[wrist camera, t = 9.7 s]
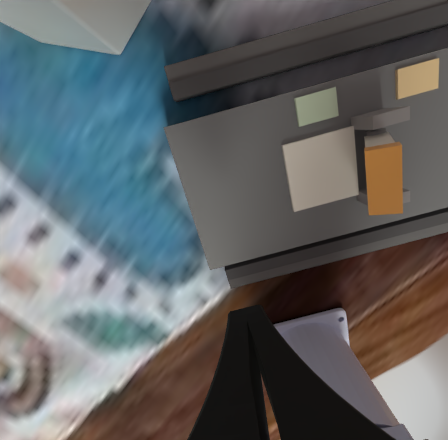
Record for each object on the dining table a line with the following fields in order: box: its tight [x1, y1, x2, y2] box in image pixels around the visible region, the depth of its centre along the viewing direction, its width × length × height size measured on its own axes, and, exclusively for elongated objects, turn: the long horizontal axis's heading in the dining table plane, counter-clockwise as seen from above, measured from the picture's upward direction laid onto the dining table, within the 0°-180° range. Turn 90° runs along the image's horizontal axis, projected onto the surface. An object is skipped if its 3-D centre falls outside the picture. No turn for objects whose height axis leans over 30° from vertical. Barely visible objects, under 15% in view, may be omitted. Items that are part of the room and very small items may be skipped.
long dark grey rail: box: [164, 0, 448, 102], centre depth 15 cm, size 2×22×2 cm, turn 104°
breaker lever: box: [364, 128, 403, 215], centre depth 14 cm, size 3×1×5 cm, turn 15°
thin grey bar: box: [225, 207, 448, 288], centre depth 20 cm, size 2×22×2 cm, turn 105°
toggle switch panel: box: [164, 48, 448, 270], centre depth 16 cm, size 10×28×4 cm, turn 105°
